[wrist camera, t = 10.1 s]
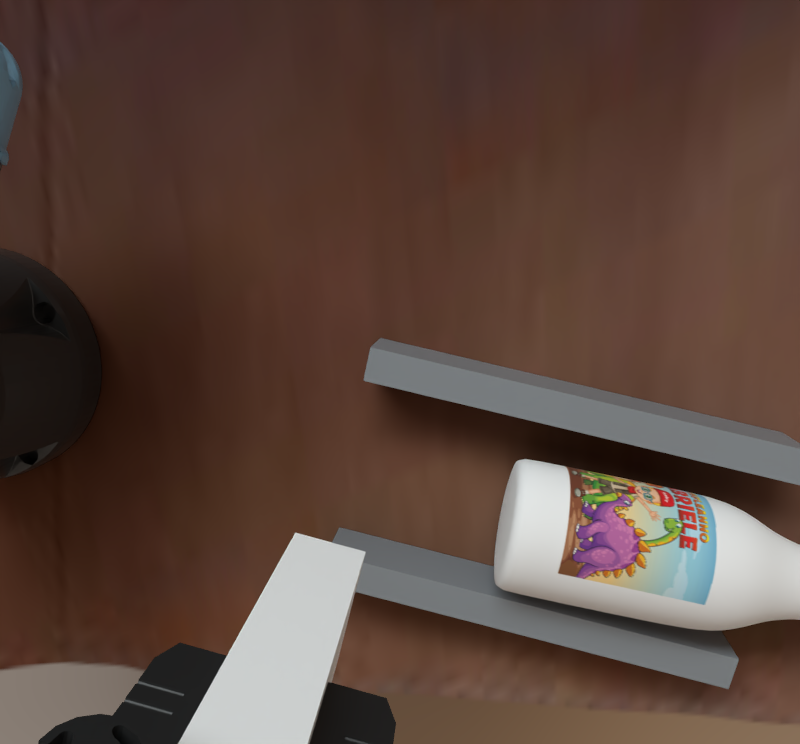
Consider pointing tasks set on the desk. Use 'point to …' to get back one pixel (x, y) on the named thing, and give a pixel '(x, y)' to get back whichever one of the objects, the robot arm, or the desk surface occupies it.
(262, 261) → the desk surface
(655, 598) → the milk bottle
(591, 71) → the desk surface
